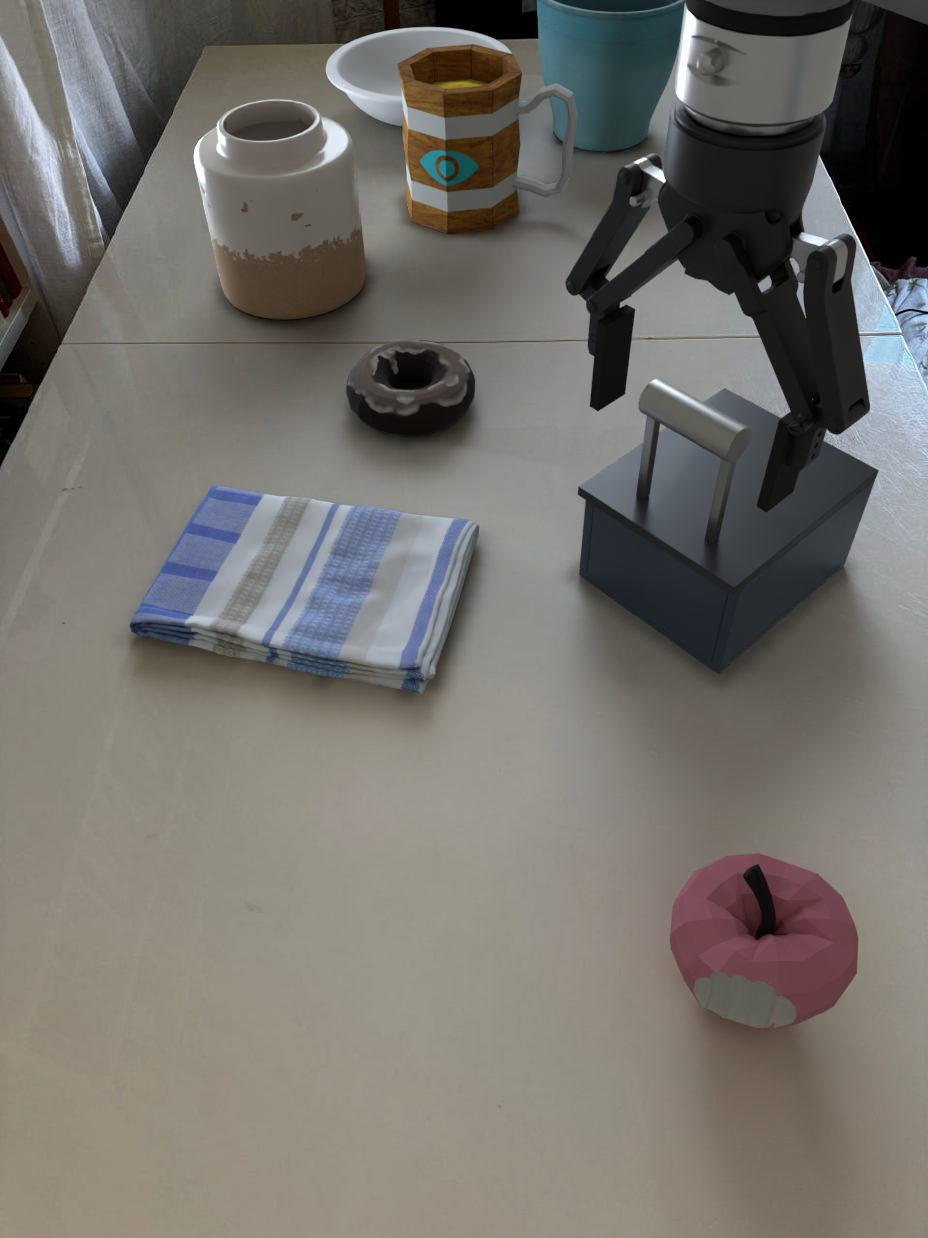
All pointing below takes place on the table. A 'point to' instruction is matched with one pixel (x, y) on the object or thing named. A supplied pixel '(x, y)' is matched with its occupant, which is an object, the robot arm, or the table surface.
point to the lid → (717, 485)
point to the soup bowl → (390, 65)
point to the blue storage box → (698, 606)
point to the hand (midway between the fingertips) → (686, 447)
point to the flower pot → (608, 64)
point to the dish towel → (313, 586)
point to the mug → (469, 137)
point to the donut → (417, 407)
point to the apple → (763, 941)
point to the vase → (282, 209)
